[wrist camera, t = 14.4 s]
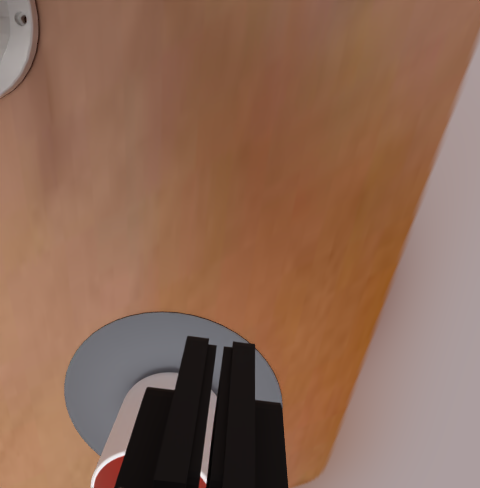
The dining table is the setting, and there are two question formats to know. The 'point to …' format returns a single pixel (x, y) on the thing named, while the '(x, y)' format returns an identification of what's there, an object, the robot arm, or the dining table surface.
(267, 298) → the dining table surface
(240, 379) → the robot arm
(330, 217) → the dining table surface
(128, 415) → the cup
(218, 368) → the mat
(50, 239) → the dining table surface
